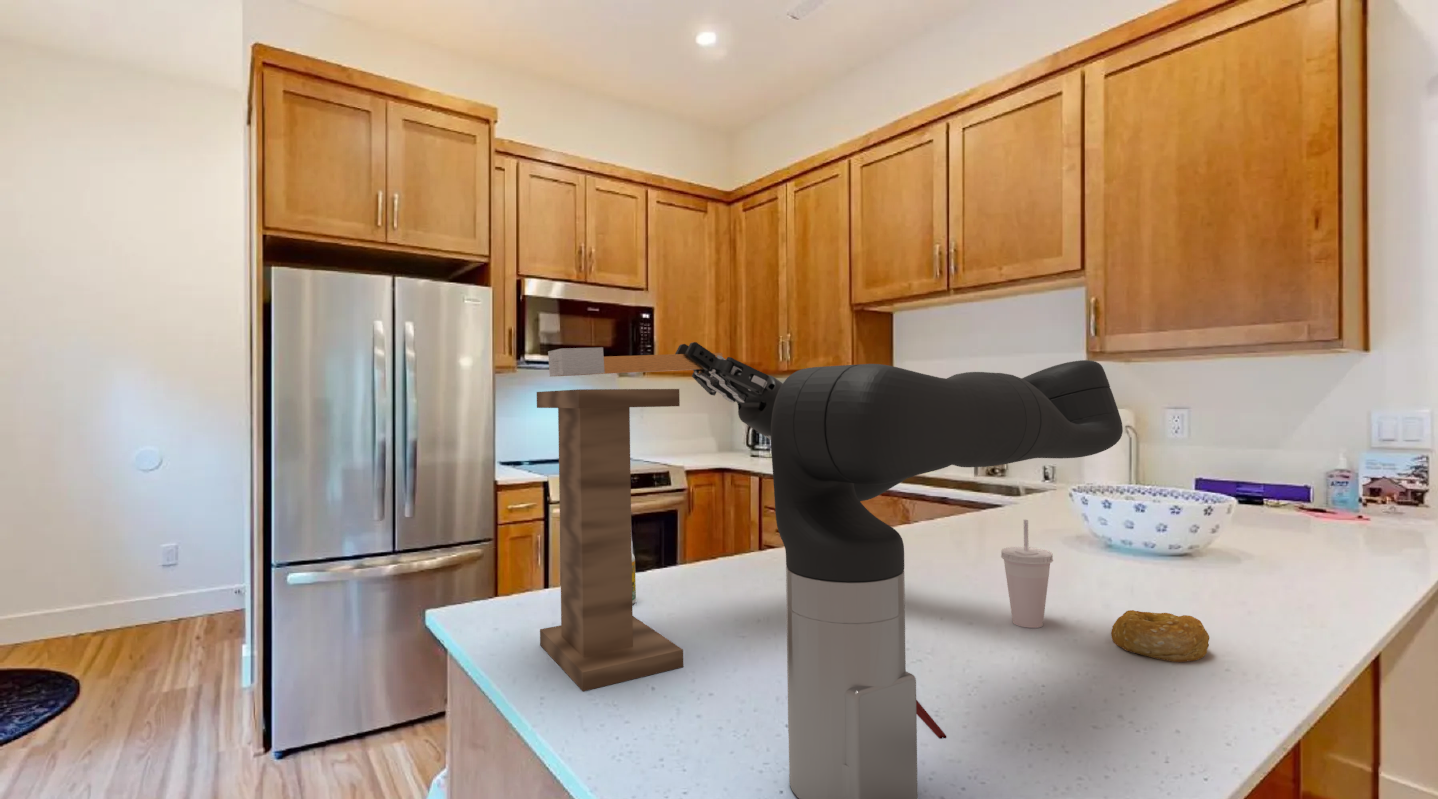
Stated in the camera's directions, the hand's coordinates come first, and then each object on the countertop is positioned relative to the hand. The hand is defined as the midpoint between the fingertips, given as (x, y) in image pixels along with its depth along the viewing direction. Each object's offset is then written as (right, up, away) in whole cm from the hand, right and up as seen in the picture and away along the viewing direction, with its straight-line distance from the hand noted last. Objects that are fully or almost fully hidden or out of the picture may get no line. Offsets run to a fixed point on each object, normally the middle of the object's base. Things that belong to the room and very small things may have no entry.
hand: (684, 349), depth 87 cm
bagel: (+58, -37, -5) cm, 69 cm away
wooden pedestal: (-9, -37, -6) cm, 39 cm away
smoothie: (+46, -37, +4) cm, 59 cm away
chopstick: (+23, -38, -14) cm, 47 cm away
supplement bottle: (-11, -38, +15) cm, 42 cm away
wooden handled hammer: (-5, -3, -3) cm, 7 cm away
